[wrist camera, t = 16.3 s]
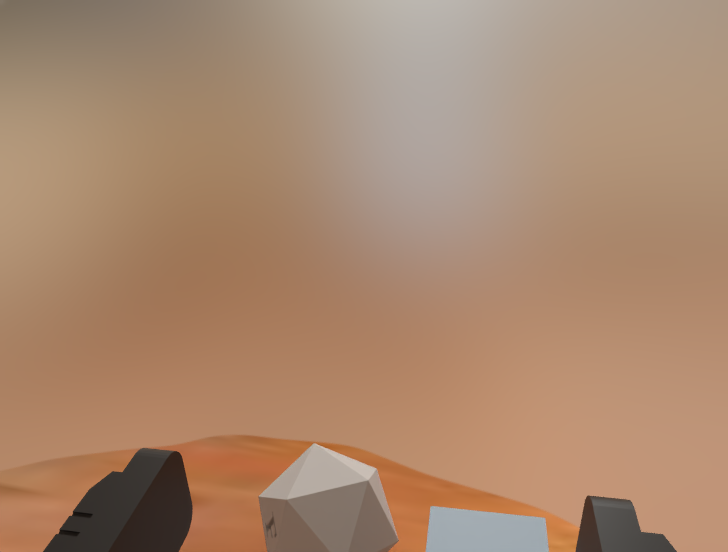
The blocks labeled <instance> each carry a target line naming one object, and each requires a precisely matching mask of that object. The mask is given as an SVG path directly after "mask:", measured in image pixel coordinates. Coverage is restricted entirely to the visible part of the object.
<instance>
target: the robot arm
mask: <svg viewBox="0 0 728 552" xmlns="http://www.w3.org/2000/svg"><path fill="white" fill-rule="evenodd" d="M191 520H192V501H191V496H190V491H189V487H188V482H187V478H186V473H185V468H184V464H183V459H182V456H181V454H180V453H179V452H177V451H168V450H158V449H149V448H142V449H140V450H139V451H138V452H137V453H136V454H135V455H134V457H133V458H132V459H131V461H130V462H129V464H128V465H127V467H126V468H125V469H124V471H123V472H114V471H113V472H111V473H110V474H109V475H107V476H106V477H105V478H104V479H102V480H101V481H100V482H98V483H97V484H96V485H95V486H93V487H92V488H91V489H89V491H88V492H87V493H86V495H85V496H84V497H83V499H82V500H81V501H80V503H79V504H78V505H77V507H76V508H75V509H74V511H73V515H72V516H69V518H68V519H67V520H66V522H65V523H64V524H63V526H62V527H61V528H60V532H59V534H56V535H55V536H54V538H53V539H52V540H51V542H50V543H49V544H48V546H47V547H46V548H45V550H44V551H43V552H179V550H180V548H181V546H182V544H183V542H184V540H185V538H186V536H187V534H188V531H189V528H190V524H191ZM576 552H677V551H676V550H675V549H674V548H673V546H672V545H671V544H670V543H669V541H668V540H667V539H666V538H665V536H664V535H663V534H655V533H645V532H641V530H640V527H639V524H638V520H637V516H636V512H635V509H634V506H633V504H632V502H631V501H630V500H625V499H615V498H605V497H596V496H587V497H586V500H585V504H584V509H583V515H582V520H581V525H580V531H579V536H578V541H577V547H576Z"/></svg>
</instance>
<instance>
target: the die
mask: <svg viewBox="0 0 728 552" xmlns="http://www.w3.org/2000/svg"><path fill="white" fill-rule="evenodd" d="M259 503H260V509H261V515H262V521H263V528H264V534H265V540H266V546H267V552H388V551H389V550H390V549H391V548H392V547H393V546H394V545H395V544H396V543H397V542H398V541H399V540H398V536H397V533H396V530H395V527H394V523H393V520H392V517H391V514H390V510H389V507H388V504H387V501H386V498H385V494H384V491H383V488H382V485H381V481H380V478H379V475H378V472H377V469H376V468H373V467H371V466H368V465H366V464H364V463H361V462H359V461H356V460H354V459H351V458H349V457H346V456H344V455H341V454H339V453H337V452H334V451H332V450H329V449H327V448H324V447H322V446H319V445H317V444H313V445H312V446H310V447H309V448H308V449H307V450H306V451H305V452H304V453H303V454H302V455H301V456H300V457H299V458H298V459H297V460H296V461H295V462H294V463H293V464H292V465H291V466H290V467H289V468H288V469H287V470H286V471H284V472H283V473H282V474H281V475H280V476H279V477H278V478H277V479H276V480H275V481H274V482H273V483H272V484H271V485H270V486H269V487H268V488H267V489H266V490H265V491H264V492H263V493H262V494H261V495H260V496H259Z"/></svg>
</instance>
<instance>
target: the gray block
mask: <svg viewBox="0 0 728 552" xmlns="http://www.w3.org/2000/svg"><path fill="white" fill-rule="evenodd" d="M426 552H549V549H548V540H547V531H546V522H545V518H540V517H531V516H521V515H511V514H502V513H492V512H483V511H473V510H463V509H454V508H444V507H434V506H431V509H430V518H429V527H428V536H427V545H426Z"/></svg>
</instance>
